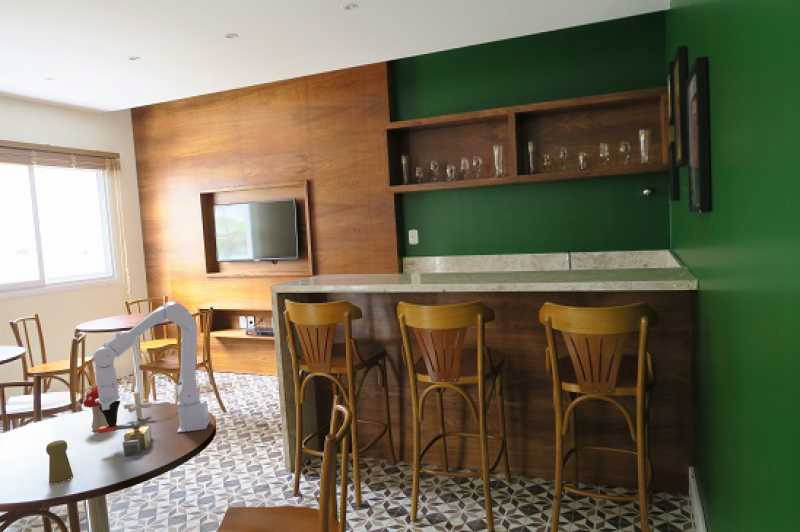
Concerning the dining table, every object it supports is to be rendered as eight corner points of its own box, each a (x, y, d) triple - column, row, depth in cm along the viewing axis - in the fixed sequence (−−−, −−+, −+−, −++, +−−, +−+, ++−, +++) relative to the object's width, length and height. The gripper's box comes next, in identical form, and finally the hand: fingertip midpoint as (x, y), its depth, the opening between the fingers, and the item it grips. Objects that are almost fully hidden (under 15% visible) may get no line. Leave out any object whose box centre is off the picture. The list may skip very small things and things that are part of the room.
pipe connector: (159, 413, 216) (156, 387, 215) (145, 423, 206) (141, 396, 205) (134, 414, 217) (131, 389, 216) (119, 424, 207) (115, 397, 206)
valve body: (154, 437, 190) (152, 419, 190) (142, 454, 176) (139, 434, 176) (135, 440, 189) (133, 421, 189) (121, 456, 176) (119, 437, 175)
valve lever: (141, 425, 184) (141, 421, 184) (139, 428, 181) (138, 424, 181) (101, 430, 182) (100, 426, 182) (98, 433, 179) (97, 429, 179)
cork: (55, 475, 165) (50, 439, 165) (77, 473, 166) (72, 436, 165) (44, 485, 159) (39, 447, 159) (67, 482, 160) (61, 444, 159)
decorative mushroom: (112, 429, 202) (107, 388, 200) (85, 435, 198) (79, 393, 197) (114, 421, 211) (109, 381, 209) (88, 426, 207) (83, 386, 206)
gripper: (97, 380, 190) (103, 420, 191) (88, 392, 176) (94, 435, 177) (121, 377, 192) (126, 416, 193) (113, 388, 178) (119, 430, 179)
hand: (112, 425), depth 185 cm, fingers closed
